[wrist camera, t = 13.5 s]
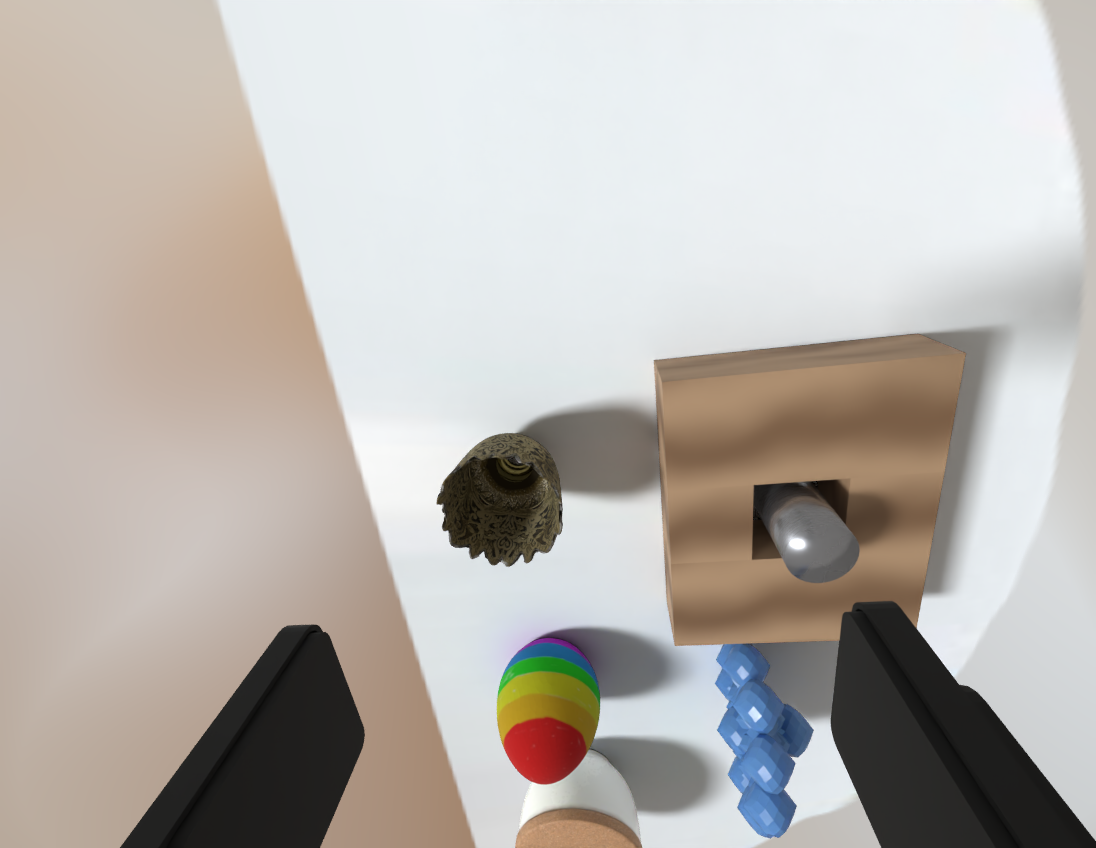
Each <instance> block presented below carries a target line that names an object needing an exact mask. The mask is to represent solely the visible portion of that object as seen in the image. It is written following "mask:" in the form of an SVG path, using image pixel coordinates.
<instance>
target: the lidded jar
mask: <svg viewBox="0 0 1096 848" xmlns="http://www.w3.org/2000/svg"><path fill="white" fill-rule="evenodd" d="M515 848H642V845H641V838H640V828H639V821H638V816H637V811H636V806H635V803H634V799H633V796H632V794H631V791H630V789H629V787H628V785H627V783H626V781H625V780H624V778H623V777H622V775H621V774H620V773H619V772H618V771H617V770H616V769H615V768H614V767H613V766H612V765H611V763H610V762H609V760H608V759H607V758H606V757H605V756H603V755H602V754H600V753H599V752H596V751H594V750H591V749H589V750H588V752H587V754H586V756H585V757H584V759H583V760H582V762H581V763H580V764H579V765H578V766H577V768H576V769H575V770H574V771H573V772H572V773H570V774H569V775H568V776H567V777H565V778H564V779H562V780H560V781H558V782H556V783H553V784H547V785H541V784H537V783H534V782H531V784H530V786H529V789H528V791H527V794H526V797H525V800H524V804H523V808H522V812H521V818H520V825H519V832H518V835H517V838H516V846H515Z"/></svg>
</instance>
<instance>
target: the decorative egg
mask: <svg viewBox="0 0 1096 848" xmlns="http://www.w3.org/2000/svg"><path fill="white" fill-rule="evenodd" d="M599 714H600V692H599V686H598V681H597V678H596V675H595V672H594V670H593V668H592V666H591V664H590V662H589V661H588V659H587V658H586V657H585V655H584V654H583V653H582V652H581V651H580V650H579V649H578V648H577V647H575V646H574V645H572V644H571V643H569V642H567V641H564V640H561V639H555V638H543V639H538V640H536V641H533V642H531V643H529V644H528V645H526V646H525V647H523V648H522V649H521V650H520V651H518V652H517V654H516V655H515V656H514V657H513V658H512V659H511V661H510V663H509V664H508V666H507V667H506V669H505V672H504V674H503V676H502V679H501V682H500V686H499V691H498V698H497V722H498V728H499V733H500V738H501V741H502V744H503V747H504V749H505V751H506V754H507V756H508V757H509V759H510V761H511V762H512V764H513V765H514V767H515V768H516V769H517V770H518V772H519V773H520V774H521V775H523V776H524V777H525V778H526V779H528V780H530V781H531V782H534V783H537V784H541V785H547V784H553V783H556V782H558V781H560V780H562V779H564V778H565V777H567V776H568V775H569V774H570V773H572V772H573V771H574V770H575V769H576V768H577V766H578V765H579V764H580V763H581V762H582V760H583V759H584V757H585V756H586V754H587V752H588V750H589V748H590V746H591V744H592V742H593V739H594V737H595V733H596V730H597V726H598V721H599Z"/></svg>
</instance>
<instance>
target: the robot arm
mask: <svg viewBox="0 0 1096 848" xmlns="http://www.w3.org/2000/svg"><path fill="white" fill-rule="evenodd" d="M831 730H832V735H833V738H834V742H835V744H836V747H837V749H838V751H839V754H840V756H841V758H842V760H843V763H844V765H845V767H846V769H847V771H848V774H849V776H850V778H851V780H852V783H853V785H854V787H855V789H856V792H857V794H858V796H859V798H860V801H861V803H862V805H863V807H864V810H865V812H866V814H867V816H868V819H869V821H870V823H871V825H872V828H873V830H874V832H875V834H876V836H877V839H878V841H879V843H880V845H881V848H1096V841H1095V840H1094V838H1093V837H1092V836H1091V835H1090V834H1089V832H1088V831H1087V830H1086V828H1085V827H1084V826H1083V824H1082V823H1081V822H1080V821H1079V819H1078V818H1077V817H1076V815H1075V814H1074V813H1073V812H1072V810H1071V809H1070V808H1069V807H1068V805H1067V804H1066V803H1065V801H1063V799H1062V798H1061V796H1060V795H1059V794H1058V793H1057V791H1056V790H1055V789H1054V788H1053V786H1052V785H1051V784H1050V782H1049V781H1048V780H1047V779H1046V777H1045V776H1044V775H1043V774H1042V772H1041V771H1040V770H1039V768H1038V767H1037V766H1036V765H1035V764H1034V762H1033V761H1032V760H1031V758H1030V757H1029V756H1028V754H1027V753H1026V752H1025V751H1024V749H1023V748H1022V747H1021V746H1020V744H1019V743H1018V742H1017V741H1016V739H1015V738H1014V737H1013V735H1012V734H1011V733H1010V732H1009V731H1008V729H1007V728H1006V726H1005V725H1004V724H1003V723H1002V721H1001V720H1000V719H999V718H998V716H997V715H996V714H995V712H994V711H993V710H992V709H991V707H990V706H989V705H988V704H987V702H986V701H985V700H984V699H983V698H982V697H981V696H980V695H979V694H978V693H977V692H976V691H975V690H973V689H972V688H970V687H968V686H963V685H959V684H958V683H957V681H956V680H955V679H954V677H953V676H952V675H951V673H950V672H949V671H948V670H947V668H946V667H945V666H944V664H943V663H942V662H941V660H940V659H939V658H938V656H937V655H936V654H935V652H934V651H933V650H932V648H931V647H930V646H929V644H928V643H927V642H926V640H925V639H924V638H923V637H922V635H921V634H920V633H919V631H918V630H917V629H916V627H915V626H914V625H913V623H912V622H911V621H910V619H909V618H908V617H907V615H906V614H905V613H904V611H903V610H902V609H901V608H900V606H899V605H898V604H897V603H895V602H893V601H875V602H856V603H854V605H853V607H852V612H844V613H843V615H842V622H841V631H840V640H839V649H838V658H837V667H836V677H835V686H834V695H833V704H832V713H831ZM364 736H365V734H364V727H363V724H362V722H361V719H360V716H359V713H358V711H357V708H356V706H355V703H354V700H353V697H352V695H351V692H350V689H349V687H348V684H347V682H346V679H345V676H344V673H343V671H342V668H341V665H340V663H339V660H338V657H337V655H336V652H335V650H334V647H333V644H332V641H331V639H330V636H329V635H328V634H327V633H326V632H323V631H322V630H321V628H320V627H319V626H318V625H293V626H286V627H284V628H283V629H282V630H281V631H280V632H279V633H278V634H277V636H276V637H275V638H274V640H273V641H272V642H271V644H270V645H269V646H268V648H267V649H266V651H265V652H264V653H263V655H262V656H261V657H260V659H259V660H258V661H257V663H256V664H255V666H254V667H253V668H252V670H251V671H250V672H249V674H248V675H247V676H246V678H245V679H244V680H243V682H242V683H241V684H240V686H239V687H238V689H237V690H236V691H235V693H234V694H233V696H232V697H231V698H230V699H229V701H228V702H227V704H226V705H225V706H224V707H223V709H222V710H221V712H220V713H219V714H218V716H217V717H216V719H215V720H214V721H213V722H212V724H211V725H210V727H209V728H208V729H207V731H206V732H205V733H204V735H203V736H202V737H201V739H200V740H199V741H198V743H197V744H196V745H195V747H194V748H193V750H192V751H191V752H190V754H189V755H188V756H187V758H186V759H185V760H184V762H183V763H182V764H181V766H180V767H179V769H178V770H177V771H176V773H175V774H174V775H173V777H172V778H171V779H170V781H169V782H168V783H167V785H166V786H165V787H164V789H163V790H162V792H161V793H160V794H159V796H158V797H157V798H156V800H155V801H154V802H153V804H152V805H151V806H150V808H149V809H148V811H147V812H146V813H145V815H144V816H143V817H142V819H141V820H140V821H139V823H138V824H137V825H136V827H135V828H134V830H133V831H132V832H131V834H130V835H129V836H128V838H127V839H126V840H125V842H124V843H123V844H122V846H121V847H120V848H320V846H321V844H322V842H323V839H324V837H325V835H326V832H327V830H328V828H329V825H330V823H331V821H332V818H333V816H334V814H335V811H336V809H337V807H338V804H339V802H340V799H341V797H342V795H343V792H344V790H345V788H346V785H347V783H348V781H349V778H350V776H351V774H352V771H353V769H354V766H355V764H356V762H357V760H358V757H359V755H360V753H361V750H362V747H363V743H364Z"/></svg>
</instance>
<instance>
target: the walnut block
mask: <svg viewBox="0 0 1096 848" xmlns="http://www.w3.org/2000/svg"><path fill="white" fill-rule="evenodd" d="M965 356H966V353H965V352H962V351H960V350H957V349H955V348H952V347H950V346H947V345H945V344H942V343H940V342H937V341H935V340H932V339H930V338H927V337H925V336H922V335H920V334H911V335H901V336H891V337H881V338H871V339H861V340H851V341H841V342H831V343H821V344H811V345H802V346H792V347H782V348H772V349H762V350H752V351H742V352H732V353H722V354H712V355H702V356H692V357H683V358H673V359H663V360H654V370H655V389H656V407H657V426H658V445H659V463H660V482H661V501H662V519H663V538H664V557H665V576H666V594H667V605H668V611H669V616H670V622H671V627H672V633H673V638H674V644H675V646H684V645H715V644H746V643H777V642H807V641H838V640H840V631H841V622H842V615H843V613H844V612H852V607H853V605H854V603H856V602H875V601H893V602H895V603H897V604H898V605H899V606H900V608H901V609H902V610H903V611H904V613H905V614H906V615H907V617H908V618H909V619H910V621H911V622H912V623H913V625H914V626H915V627H916V628H917V622H918V617H919V611H920V606H921V600H922V595H923V589H924V583H925V578H926V572H927V567H928V561H929V556H930V550H931V545H932V539H933V533H934V528H935V522H936V517H937V511H938V506H939V500H940V495H941V489H942V484H943V478H944V472H945V467H946V461H947V456H948V450H949V445H950V439H951V434H952V428H953V423H954V417H955V411H956V406H957V400H958V395H959V389H960V384H961V378H962V373H963V367H964V361H965ZM805 481H818V487H817V489H818V490H819V491H820V493H821V494H822V495H823V496H824V498H825V499H826V500H827V502H828V503H829V504H830V505H831V507H832V508H833V509H834V510H835V512H836V513H837V514H838V516H839V517H840V518H841V519H842V521H843V522H844V523H845V525H846V526H847V527H848V528H849V530H850V531H851V532H852V534H853V535H854V536H855V537H856V539H857V541H858V543H859V548H860V552H859V557H858V560H857V562H856V564H855V565H854V566H853V568H852V569H851V570H850V571H849V572H848V573H846V574H845V575H843V576H842V577H840V578H838V579H836V580H833V581H830V582H825V583H810V582H805V581H802V580H800V579H798V578H796V577H795V576H794V575H792V574H791V573H790V571H789V570H788V568H787V567H786V565H785V563H784V561H783V559H782V557H781V555H780V553H779V551H778V549H777V548H776V546H775V544H774V542H773V540H772V538H771V536H770V534H769V532H768V530H767V529H766V527H765V525H764V523H763V521H762V520H753V493H754V485H762V484H777V483H791V482H805Z"/></svg>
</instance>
